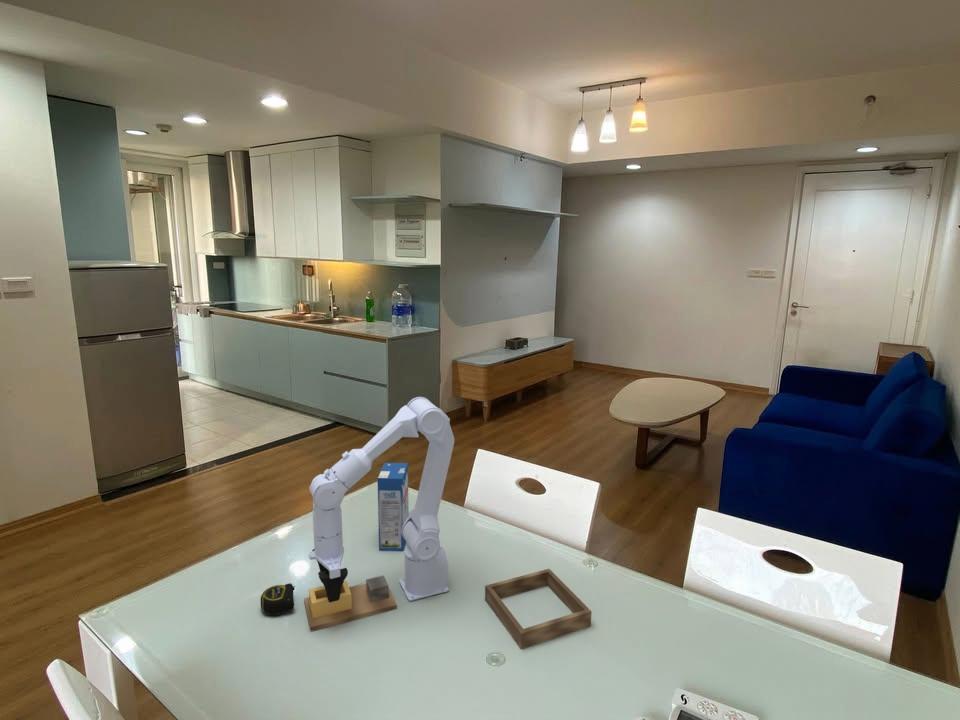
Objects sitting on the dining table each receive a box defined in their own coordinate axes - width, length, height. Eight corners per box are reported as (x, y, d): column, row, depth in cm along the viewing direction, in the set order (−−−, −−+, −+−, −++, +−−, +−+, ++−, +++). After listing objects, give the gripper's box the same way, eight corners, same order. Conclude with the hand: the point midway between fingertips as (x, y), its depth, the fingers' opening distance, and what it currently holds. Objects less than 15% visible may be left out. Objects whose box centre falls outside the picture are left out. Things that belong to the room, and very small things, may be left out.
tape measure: (294, 615, 114) (293, 599, 113) (259, 621, 112) (258, 605, 111) (295, 595, 121) (294, 580, 120) (262, 601, 118) (261, 585, 118)
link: (347, 594, 119) (346, 580, 118) (351, 608, 115) (351, 593, 114) (309, 604, 116) (308, 589, 115) (312, 618, 111) (312, 603, 111)
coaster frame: (548, 582, 127) (549, 568, 126) (590, 626, 112) (591, 611, 111) (485, 599, 120) (485, 585, 119) (520, 649, 105) (521, 633, 105)
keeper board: (385, 582, 125) (384, 563, 124) (397, 608, 116) (396, 587, 115) (304, 602, 118) (303, 581, 117) (310, 631, 109) (309, 609, 108)
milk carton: (403, 551, 138) (402, 478, 134) (379, 550, 138) (377, 478, 134) (408, 531, 148) (407, 463, 144) (386, 530, 148) (384, 462, 144)
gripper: (303, 519, 117) (306, 575, 119) (312, 553, 104) (316, 615, 106) (336, 513, 120) (339, 568, 122) (349, 545, 107) (352, 606, 109)
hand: (330, 589), depth 115 cm, fingers open, 7 cm apart
